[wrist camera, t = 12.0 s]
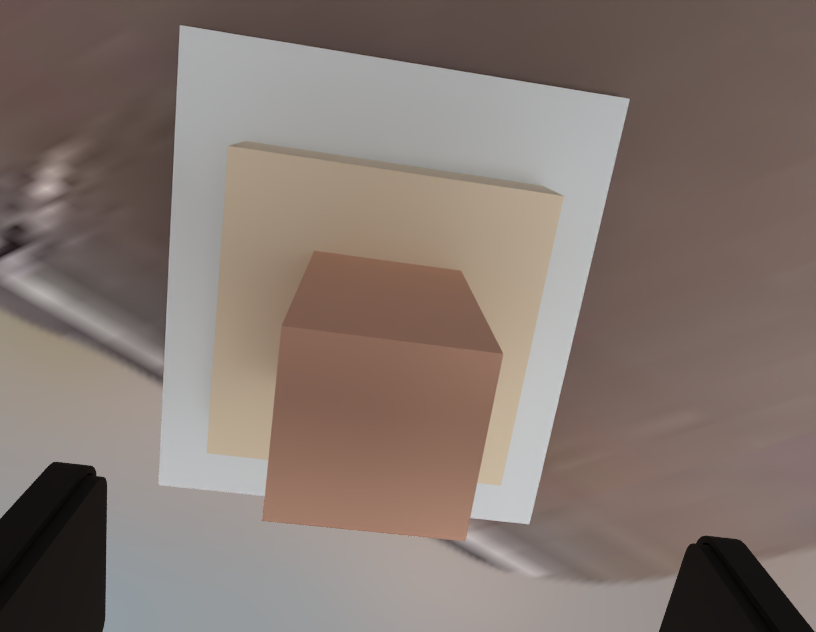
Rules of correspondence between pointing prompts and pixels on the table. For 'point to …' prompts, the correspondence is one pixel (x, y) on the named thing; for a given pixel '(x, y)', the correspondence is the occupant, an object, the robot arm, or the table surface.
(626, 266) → the table surface
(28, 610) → the robot arm
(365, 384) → the terracotta block
